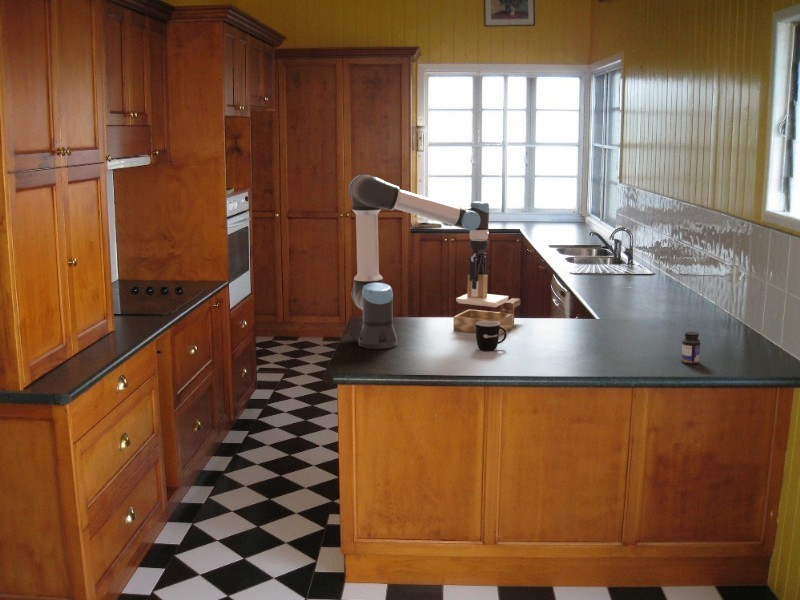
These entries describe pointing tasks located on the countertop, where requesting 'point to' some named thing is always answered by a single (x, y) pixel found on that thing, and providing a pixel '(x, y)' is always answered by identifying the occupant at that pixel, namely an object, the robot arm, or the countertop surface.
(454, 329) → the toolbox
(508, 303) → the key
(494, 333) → the mug
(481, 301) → the lid
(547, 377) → the countertop surface
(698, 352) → the pill bottle
